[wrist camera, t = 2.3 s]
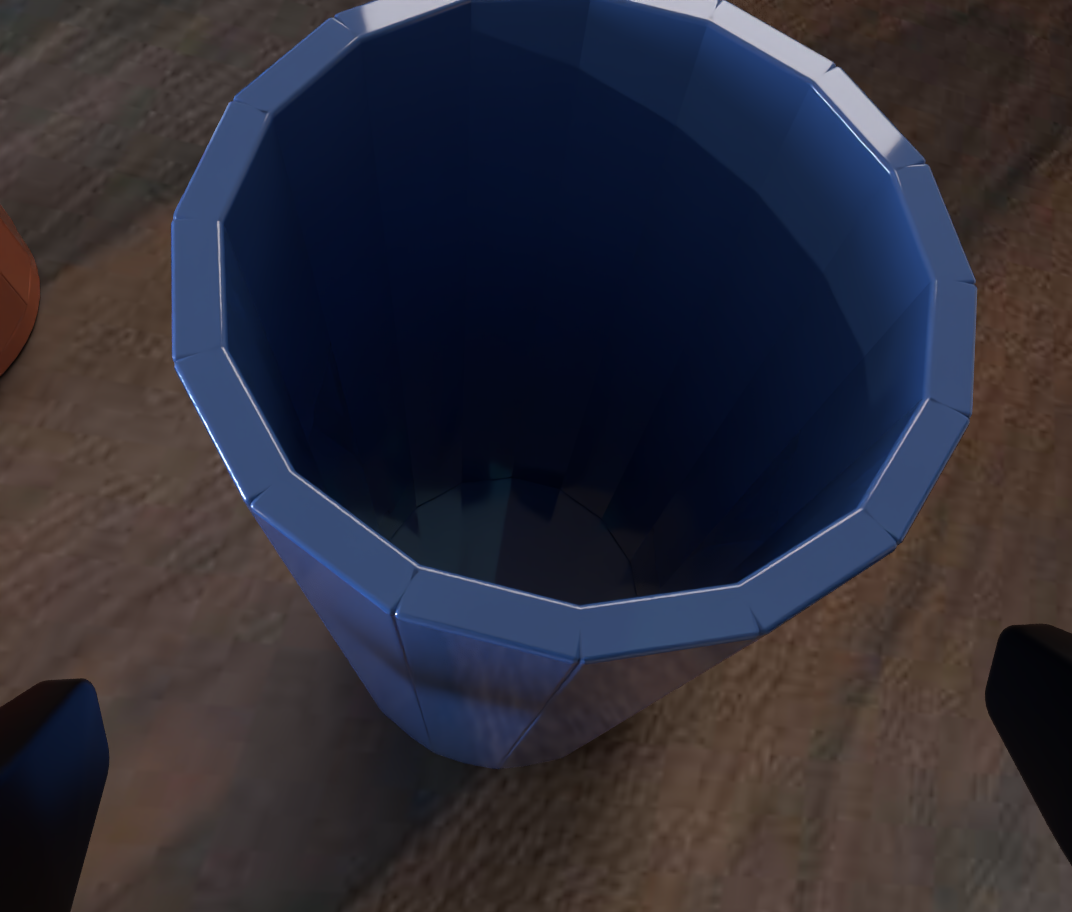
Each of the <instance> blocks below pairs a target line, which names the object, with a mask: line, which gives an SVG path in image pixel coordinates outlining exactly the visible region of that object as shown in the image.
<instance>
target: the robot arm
mask: <svg viewBox="0 0 1072 912" xmlns="http://www.w3.org/2000/svg"><path fill="white" fill-rule="evenodd" d="M985 701H986V707H987V710H988V713H989V716H990V718H991V720H992V722H993V724H994V725H995V727H996V729H997V731H998V733H999V735H1000V737H1001V739H1002V740H1003V742H1004V744H1005V746H1006V748H1007V750H1008V752H1009V754H1010V755H1011V757H1012V759H1013V761H1014V763H1015V765H1016V767H1017V769H1018V770H1019V772H1020V774H1021V776H1022V778H1023V780H1024V782H1025V784H1026V786H1027V787H1028V789H1029V791H1030V793H1031V795H1032V797H1033V799H1034V801H1035V802H1036V804H1037V806H1038V808H1039V810H1040V812H1041V814H1042V816H1043V817H1044V819H1045V821H1046V823H1047V825H1048V827H1049V828H1050V830H1051V832H1052V834H1053V836H1054V837H1055V839H1056V841H1057V843H1058V844H1059V846H1060V848H1061V849H1062V851H1063V853H1064V854H1065V856H1066V857H1067V859H1068V861H1069V862H1070V864H1071V865H1072V634H1071V633H1069V632H1066V631H1064V630H1061V629H1059V628H1056V627H1054V626H1051V625H1048V624H1027V625H1012V626H1009V627H1007V628H1005V629H1004V630H1003V631H1002V633H1001V634H1000V636H999V638H998V642H997V646H996V650H995V654H994V657H993V661H992V665H991V669H990V673H989V677H988V681H987V685H986V690H985ZM108 768H109V748H108V743H107V738H106V734H105V729H104V725H103V720H102V716H101V712H100V707H99V703H98V698H97V694H96V691H95V688H94V686H93V685H92V683H91V682H89V681H88V680H86V679H83V678H80V679H62V680H46V681H42V682H40V683H38V684H36V685H34V686H33V687H31V688H30V689H28V690H27V691H25V692H23V693H22V694H20V695H19V696H17V697H16V698H14V699H13V700H11V701H9V702H8V703H6V704H5V705H3V706H2V707H0V912H70V911H71V907H72V904H73V900H74V896H75V893H76V889H77V885H78V882H79V878H80V874H81V871H82V867H83V863H84V860H85V856H86V852H87V849H88V845H89V841H90V837H91V834H92V830H93V826H94V823H95V819H96V815H97V812H98V808H99V804H100V801H101V797H102V793H103V790H104V786H105V782H106V779H107V774H108Z"/></svg>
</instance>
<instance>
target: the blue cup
mask: <svg viewBox="0 0 1072 912" xmlns="http://www.w3.org/2000/svg"><path fill="white" fill-rule="evenodd" d="M925 162H926V161H925V158H924V157H923V156H922V155H921V154H920V153H919V152H918V151H917V150H916V148H915V147H914V146H913V145H912V144H911V143H910V142H909V141H908V140H907V139H906V138H905V137H904V135H903V134H902V133H901V132H900V131H899V130H898V129H897V128H896V127H895V126H894V125H893V123H892V122H891V121H890V120H889V119H888V118H887V117H886V116H885V115H884V114H883V113H882V112H881V110H880V109H879V108H878V107H877V106H876V105H875V104H874V103H873V102H872V101H871V100H870V98H869V97H868V96H867V95H866V94H865V93H864V92H863V91H862V90H861V89H860V88H859V86H858V85H857V84H856V83H855V82H854V81H853V80H852V79H851V78H850V77H849V76H848V75H847V73H846V72H845V71H844V70H843V69H842V68H841V67H839V66H836V64H835V63H834V62H833V61H831V60H830V59H828V58H826V57H824V56H823V55H821V54H819V53H817V52H816V51H814V50H812V49H810V48H809V47H807V46H805V45H803V44H802V43H800V42H798V41H796V40H795V39H793V38H791V37H789V36H788V35H786V34H784V33H782V32H781V31H779V30H777V29H775V28H774V27H772V26H770V25H769V24H767V23H765V22H763V21H762V20H760V19H758V18H756V17H755V16H753V15H751V14H749V13H748V12H746V11H744V10H742V9H741V8H739V7H737V6H735V5H734V4H732V3H730V2H728V1H727V0H721V1H720V0H374V1H371V2H368V3H365V4H362V5H359V6H357V7H354V8H351V9H348V10H345V11H342V12H340V13H337V14H336V15H335V17H331V18H328V19H327V20H326V21H325V22H324V23H322V24H321V25H320V26H319V27H318V28H316V29H315V30H314V31H313V32H311V33H310V34H309V35H308V36H307V37H305V38H304V39H303V40H302V41H301V42H299V43H298V44H297V45H296V46H294V47H293V48H292V49H291V50H290V51H288V52H287V53H286V54H285V55H284V56H282V57H281V58H280V59H279V60H278V61H276V62H275V63H274V64H273V65H271V66H270V67H269V68H268V69H267V70H265V71H264V72H263V73H262V74H261V75H259V76H258V77H257V78H256V79H254V80H253V81H252V82H251V83H250V84H248V85H247V86H246V87H245V88H244V89H242V90H241V91H240V92H239V93H238V94H236V95H235V97H234V99H233V101H231V102H229V104H228V106H227V108H226V110H225V112H224V114H223V116H222V118H221V120H220V122H219V124H218V126H217V128H216V130H215V132H214V134H213V136H212V138H211V140H210V142H209V144H208V146H207V148H206V150H205V152H204V154H203V156H202V158H201V160H200V162H199V164H198V166H197V168H196V170H195V172H194V174H193V176H192V178H191V180H190V182H189V184H188V186H187V188H186V190H185V192H184V194H183V196H182V198H181V200H180V202H179V204H178V206H177V208H176V210H175V212H174V215H173V221H172V223H171V300H172V359H173V361H174V363H175V371H176V373H177V374H178V376H179V378H180V380H181V382H182V384H183V386H184V388H185V390H186V392H187V394H188V396H189V397H190V399H191V401H192V403H193V405H194V407H195V409H196V411H197V413H198V415H199V417H200V418H201V420H202V422H203V424H204V426H205V428H206V430H207V432H208V434H209V436H210V438H211V439H212V441H213V443H214V445H215V447H216V449H217V451H218V453H219V455H220V457H221V459H222V461H223V462H224V464H225V466H226V468H227V470H228V472H229V474H230V476H231V478H232V480H233V482H234V483H235V485H236V487H237V489H238V491H239V493H240V495H241V497H242V499H243V501H244V502H245V504H246V505H247V507H248V508H249V510H250V511H251V513H252V515H253V516H254V518H255V519H256V521H257V522H258V524H259V525H260V527H261V528H262V530H263V531H264V533H265V534H266V536H267V537H268V539H269V540H270V542H271V544H272V545H273V547H274V548H275V550H276V551H277V553H278V554H279V556H280V557H281V559H282V560H283V562H284V563H285V565H286V566H287V568H288V569H289V571H290V573H291V574H292V576H293V577H294V579H295V580H296V582H297V583H298V585H299V586H300V588H301V589H302V591H303V592H304V594H305V595H306V597H307V598H308V600H309V602H310V603H311V605H312V606H313V608H314V609H315V611H316V612H317V614H318V615H319V617H320V618H321V620H322V621H323V623H324V624H325V626H326V627H327V629H328V630H329V632H330V634H331V635H332V637H333V638H334V640H335V641H336V643H337V644H338V646H339V647H340V649H341V650H342V652H343V653H344V655H345V656H346V658H347V659H348V661H349V663H350V664H351V666H352V667H353V669H354V670H355V672H356V673H357V675H358V676H359V678H360V679H361V681H362V682H363V684H364V685H365V687H366V688H367V690H368V692H369V693H370V695H371V696H372V698H373V699H374V701H375V702H376V704H377V705H378V707H379V708H380V710H381V711H382V712H383V713H384V715H385V716H387V717H388V718H389V719H390V720H392V721H393V722H394V723H396V724H397V725H398V726H399V727H400V728H401V729H402V730H403V731H404V732H405V733H407V734H408V735H409V736H410V737H412V738H413V739H414V740H416V741H417V742H419V743H420V744H422V745H423V746H425V747H426V748H427V749H429V750H430V751H431V752H434V753H435V754H438V755H442V756H444V757H447V758H450V759H453V760H456V761H459V762H462V763H465V764H470V765H476V766H481V767H488V768H492V769H496V768H497V769H504V768H513V767H523V766H530V765H534V764H538V763H542V762H546V761H552V760H558V759H560V758H563V757H565V756H567V755H568V754H570V753H572V752H573V751H575V750H577V749H578V748H580V747H582V746H583V745H585V744H587V743H588V742H590V741H591V740H593V739H595V738H596V737H598V736H600V735H601V734H603V733H605V732H606V731H608V730H610V729H611V728H613V727H615V726H616V725H618V724H620V723H621V722H623V721H625V720H626V719H628V718H630V717H631V716H633V715H635V714H636V713H638V712H640V711H641V710H643V709H645V708H646V707H648V706H649V705H651V704H653V703H654V702H656V701H658V700H659V699H661V698H663V697H664V696H666V695H668V694H669V693H671V692H673V691H674V690H676V689H678V688H679V687H681V686H683V685H684V684H686V683H688V682H689V681H691V680H693V679H694V678H696V677H698V676H699V675H701V674H702V673H704V672H706V671H707V670H709V669H711V668H712V667H714V666H716V665H717V664H719V663H721V662H722V661H724V660H726V659H727V658H729V657H731V656H732V655H734V654H736V653H737V652H739V651H741V650H742V649H744V648H746V647H747V646H749V645H751V644H752V643H754V642H755V641H757V640H759V639H760V638H762V637H764V636H765V635H767V634H769V633H770V632H772V631H773V630H775V629H776V628H778V627H779V626H781V625H782V624H784V623H785V622H787V621H788V620H790V619H791V618H793V617H794V616H796V615H798V614H799V613H801V612H802V611H804V610H805V609H807V608H808V607H810V606H811V605H813V604H814V603H816V602H817V601H819V600H820V599H822V598H823V597H825V596H826V595H828V594H829V593H831V592H833V591H834V590H836V589H837V588H839V587H840V586H842V585H843V584H845V583H846V582H848V581H849V580H851V579H852V578H854V577H855V576H857V575H858V574H860V573H861V572H863V571H864V570H866V569H868V568H869V567H871V566H872V565H874V564H875V563H877V562H878V561H880V560H881V559H883V558H884V557H886V556H887V555H889V554H890V553H892V552H893V551H894V550H895V549H896V547H897V545H899V544H900V543H902V542H903V540H904V538H905V537H906V535H907V533H908V531H909V529H910V528H911V526H912V524H913V522H914V521H915V519H916V517H917V515H918V514H919V512H920V510H921V508H922V507H923V505H924V503H925V501H926V500H927V498H928V496H929V494H930V493H931V491H932V489H933V487H934V486H935V484H936V482H937V480H938V479H939V477H940V475H941V473H942V472H943V470H944V468H945V466H946V464H947V463H948V461H949V459H950V457H951V456H952V454H953V452H954V450H955V449H956V447H957V445H958V443H959V442H960V440H961V438H962V436H963V435H964V433H965V431H966V429H967V428H968V426H969V422H970V420H969V419H970V417H971V416H972V404H973V380H974V355H975V331H976V307H977V287H976V286H975V277H974V274H973V272H972V270H971V267H970V265H969V262H968V260H967V257H966V255H965V252H964V250H963V247H962V245H961V242H960V240H959V237H958V235H957V233H956V230H955V228H954V225H953V223H952V220H951V218H950V215H949V213H948V210H947V208H946V205H945V203H944V200H943V198H942V196H941V193H940V191H939V188H938V186H937V183H936V181H935V178H934V176H933V173H932V171H931V168H930V166H929V165H928V164H925Z"/></svg>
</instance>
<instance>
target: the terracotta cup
mask: <svg viewBox="0 0 1072 912" xmlns="http://www.w3.org/2000/svg"><path fill="white" fill-rule="evenodd" d="M39 300H40V280H39V275H38V270H37V266H36V263H35V260H34V258H33V255H32V253H31V251H30V249H29V248H28V246H27V244H26V243H25V241H24V240H23V238H22V237H21V236H20V234H19V233H18V231H17V229H16V227H15V225H14V223H13V221H12V220H11V218H10V217H9V216H8V214H7V213H6V211H5V210H4V209H3V207H2V206H1V205H0V376H1V375H2V374H3V373H4V372H5V371H6V370H7V369H8V367H9V366H10V365H11V364H12V362H13V361H14V360H15V359H16V358H17V356H18V355H19V353H20V351H21V350H22V348H23V347H24V345H25V344H26V342H27V340H28V338H29V335H30V333H31V331H32V329H33V327H34V323H35V320H36V316H37V313H38V308H39Z"/></svg>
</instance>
